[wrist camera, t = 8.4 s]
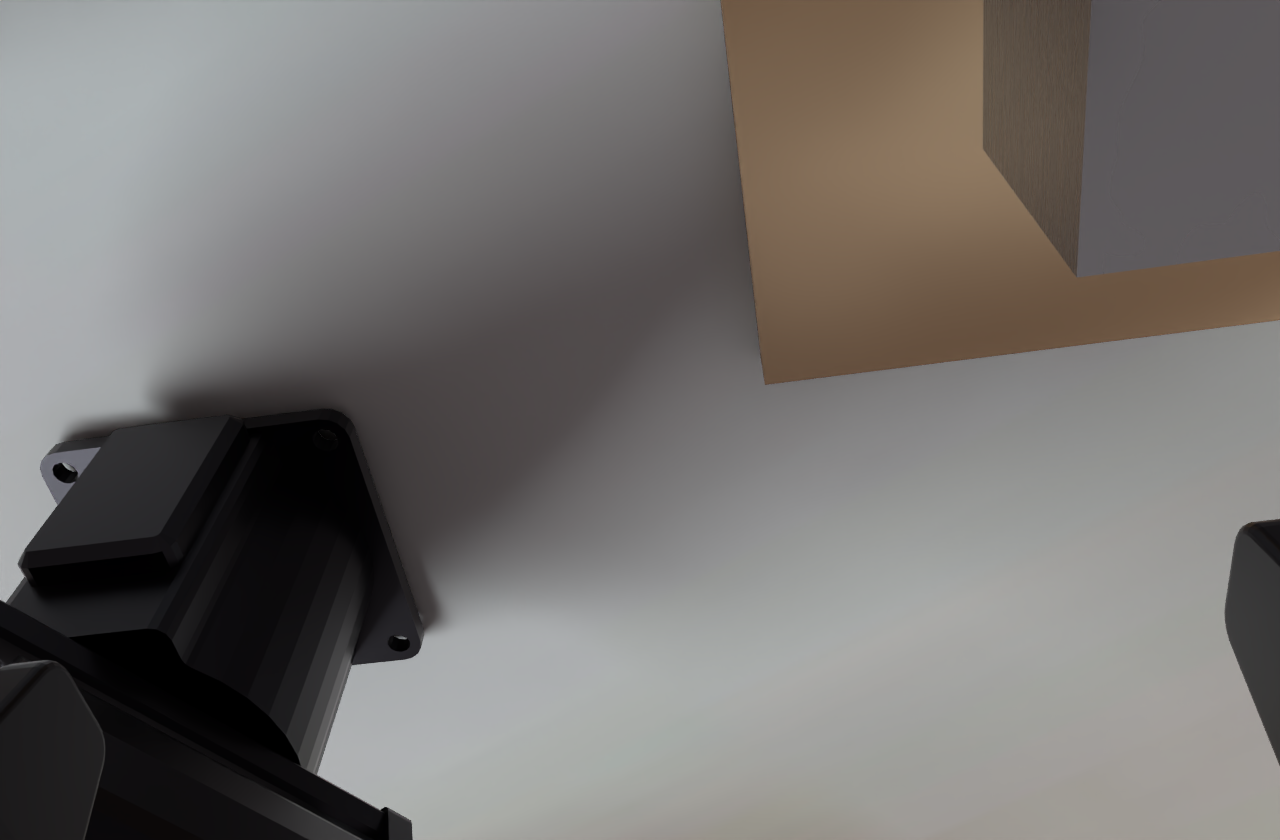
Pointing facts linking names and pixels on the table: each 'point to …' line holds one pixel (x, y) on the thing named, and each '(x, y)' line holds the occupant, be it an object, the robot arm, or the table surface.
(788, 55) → the base board
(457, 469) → the table surface
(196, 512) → the robot arm
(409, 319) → the table surface
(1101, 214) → the sleeve
